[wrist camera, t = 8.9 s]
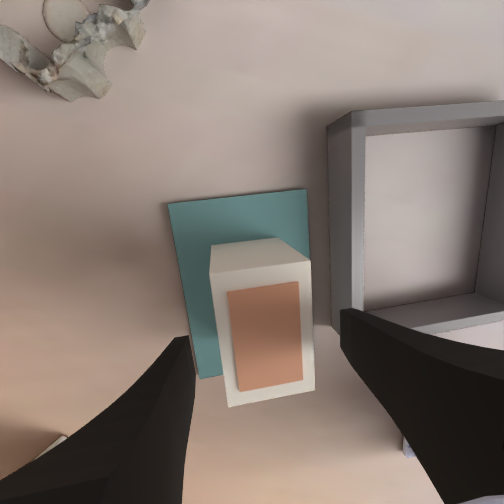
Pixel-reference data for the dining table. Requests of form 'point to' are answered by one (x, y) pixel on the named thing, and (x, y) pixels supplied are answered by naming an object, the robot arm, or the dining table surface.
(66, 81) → the egg carton
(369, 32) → the dining table surface
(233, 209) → the mat
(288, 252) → the box
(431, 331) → the bin
